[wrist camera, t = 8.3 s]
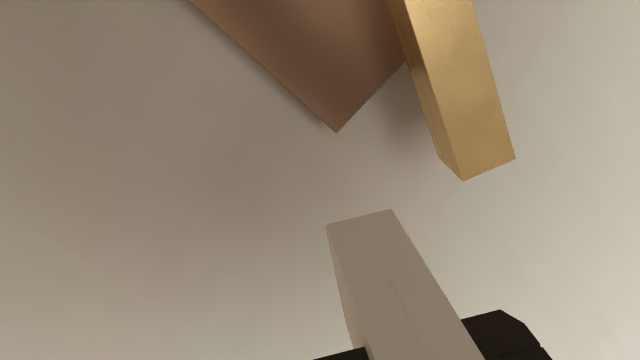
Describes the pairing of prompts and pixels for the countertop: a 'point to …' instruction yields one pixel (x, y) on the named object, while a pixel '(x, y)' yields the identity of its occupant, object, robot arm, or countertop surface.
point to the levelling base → (316, 48)
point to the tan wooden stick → (453, 83)
